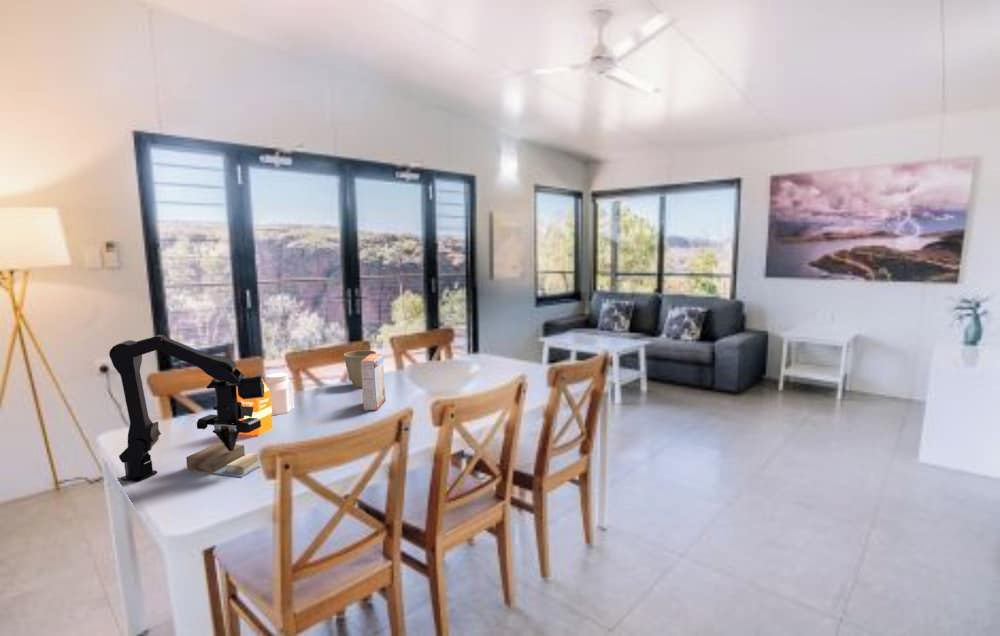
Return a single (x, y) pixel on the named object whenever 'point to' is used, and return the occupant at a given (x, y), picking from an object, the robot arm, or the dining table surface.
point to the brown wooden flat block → (214, 458)
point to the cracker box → (373, 381)
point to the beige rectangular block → (243, 463)
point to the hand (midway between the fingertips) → (231, 450)
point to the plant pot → (356, 365)
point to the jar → (280, 393)
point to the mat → (234, 474)
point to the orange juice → (259, 411)
